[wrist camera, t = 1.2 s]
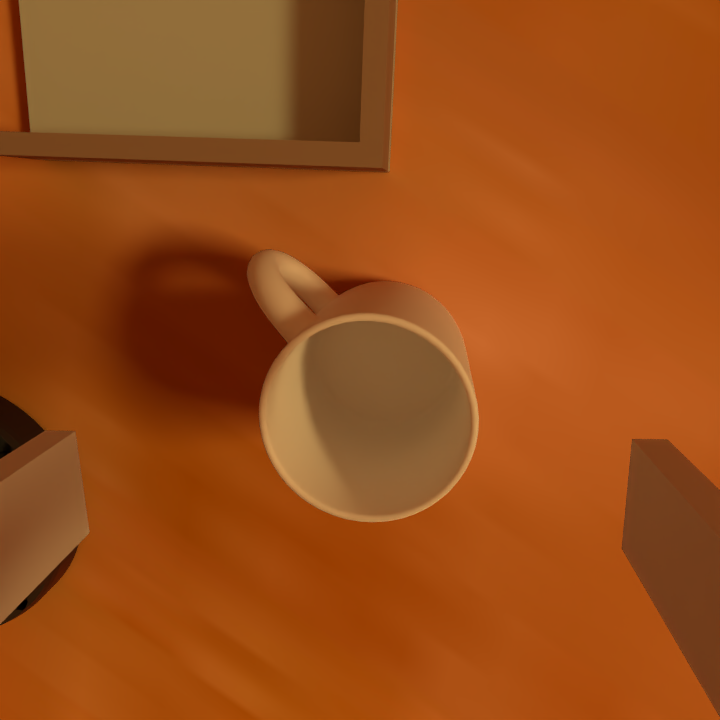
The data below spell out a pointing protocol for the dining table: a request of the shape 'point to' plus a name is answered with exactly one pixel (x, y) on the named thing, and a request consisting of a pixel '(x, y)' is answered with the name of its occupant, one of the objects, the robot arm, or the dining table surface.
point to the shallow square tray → (209, 82)
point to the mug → (363, 393)
